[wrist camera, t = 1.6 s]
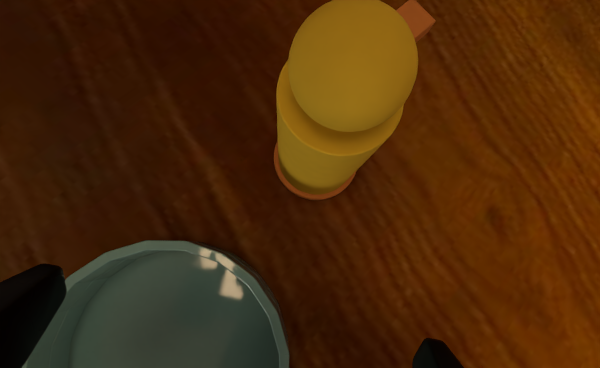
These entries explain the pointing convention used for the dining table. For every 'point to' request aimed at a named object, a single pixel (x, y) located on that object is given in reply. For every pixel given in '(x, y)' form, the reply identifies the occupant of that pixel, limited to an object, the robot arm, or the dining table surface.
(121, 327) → the pan
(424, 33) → the duck toy
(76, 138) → the dining table surface
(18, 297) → the robot arm
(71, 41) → the dining table surface
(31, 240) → the dining table surface
